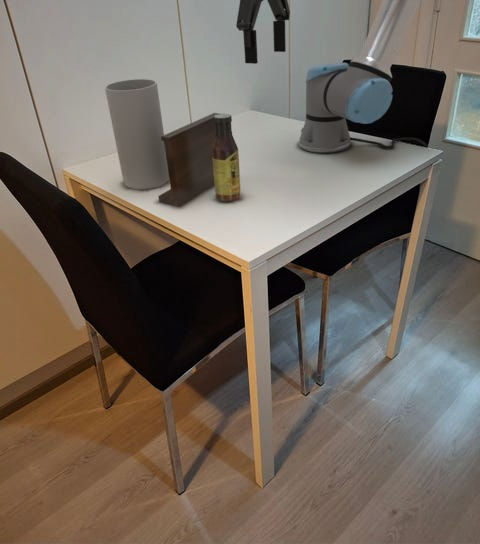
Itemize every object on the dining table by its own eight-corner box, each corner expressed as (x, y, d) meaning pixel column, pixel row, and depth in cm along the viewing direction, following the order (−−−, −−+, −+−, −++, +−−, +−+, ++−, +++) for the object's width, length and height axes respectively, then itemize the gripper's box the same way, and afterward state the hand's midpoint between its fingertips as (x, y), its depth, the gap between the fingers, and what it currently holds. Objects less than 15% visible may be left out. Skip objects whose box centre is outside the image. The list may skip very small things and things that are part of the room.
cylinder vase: (162, 191, 125) (146, 90, 111) (116, 189, 127) (96, 91, 114) (175, 172, 135) (163, 78, 122) (133, 172, 138) (116, 79, 124)
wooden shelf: (226, 177, 130) (221, 113, 121) (178, 207, 116) (169, 137, 107) (207, 173, 133) (201, 111, 124) (158, 202, 119) (147, 134, 110)
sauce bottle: (238, 203, 116) (232, 120, 106) (212, 202, 118) (205, 120, 107) (243, 192, 122) (238, 111, 111) (219, 191, 123) (212, 112, 112)
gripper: (274, -56, 109) (276, 46, 121) (213, -51, 92) (223, 67, 104) (304, -58, 106) (304, 47, 118) (247, -54, 89) (253, 69, 100)
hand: (266, 57), depth 111 cm, fingers open, 13 cm apart
